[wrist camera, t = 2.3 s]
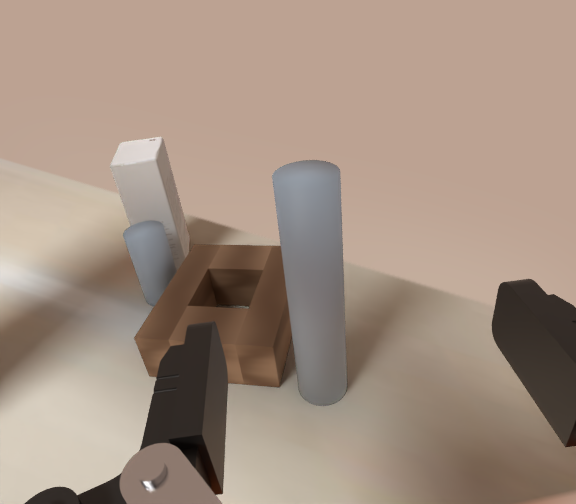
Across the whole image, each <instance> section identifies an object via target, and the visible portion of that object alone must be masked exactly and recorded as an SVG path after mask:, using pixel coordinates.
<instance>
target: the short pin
mask: <svg viewBox="0 0 576 504" xmlns="http://www.w3.org/2000/svg"><path fill="white" fill-rule="evenodd" d="M123 237H124V240H125V243H126V245H127V248H128V251H129V254H130V257H131V260H132V262H133V265H134V268H135V271H136V274H137V276H138V279H139V282H140V285H141V288H142V291H143V293H144V296H145V299H146V302H147V303H148V304H150V305H152V306H155V305H156V303H157V302H158V300H159V299H160V297H161V295H162V294H163V292H164V291H165V289H166V288H167V286H168V285H169V283H170V281H171V280H172V278H173V277H174V275H175V274H176V272H177V270H176V267H175V263H174V260H173V256H172V253H171V249H170V246H169V242H168V239H167V236H166V232H165V229H164V225H163V224H162V223H161V222H159V221H143V222H139V223H137V224H134V225H132V226H130V227H129V228H127V229H126V230H125V232H124V233H123Z"/></svg>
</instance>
